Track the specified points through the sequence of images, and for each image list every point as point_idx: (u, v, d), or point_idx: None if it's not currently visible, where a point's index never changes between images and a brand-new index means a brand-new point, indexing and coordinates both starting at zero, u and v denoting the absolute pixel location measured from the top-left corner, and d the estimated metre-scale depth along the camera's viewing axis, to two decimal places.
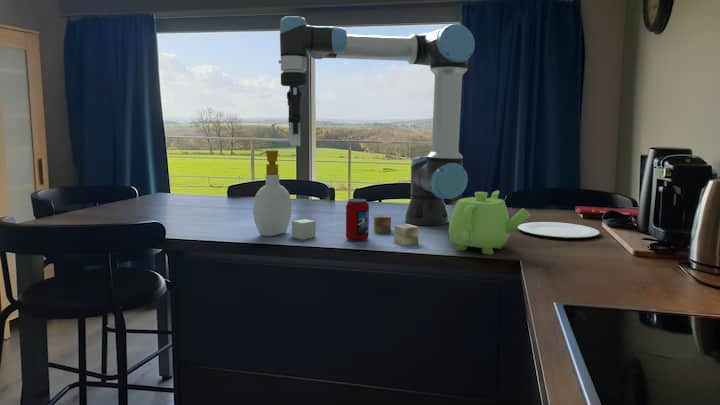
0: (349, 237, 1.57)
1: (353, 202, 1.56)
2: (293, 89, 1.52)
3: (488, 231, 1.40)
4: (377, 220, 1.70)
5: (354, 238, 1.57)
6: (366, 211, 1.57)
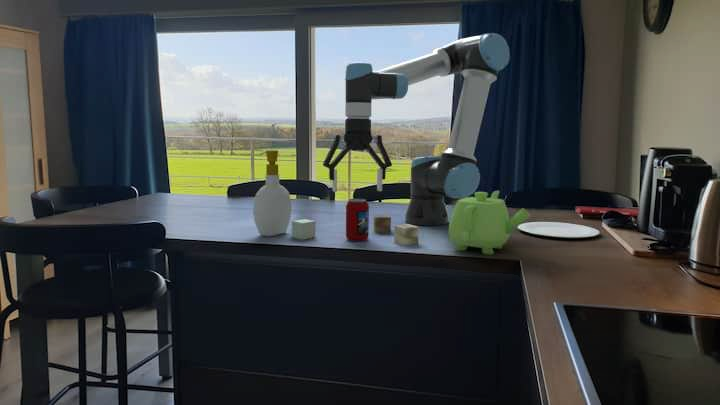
0: (349, 237, 1.57)
1: (353, 202, 1.56)
2: (334, 136, 1.54)
3: (488, 231, 1.40)
4: (377, 220, 1.70)
5: (354, 238, 1.57)
6: (366, 211, 1.57)
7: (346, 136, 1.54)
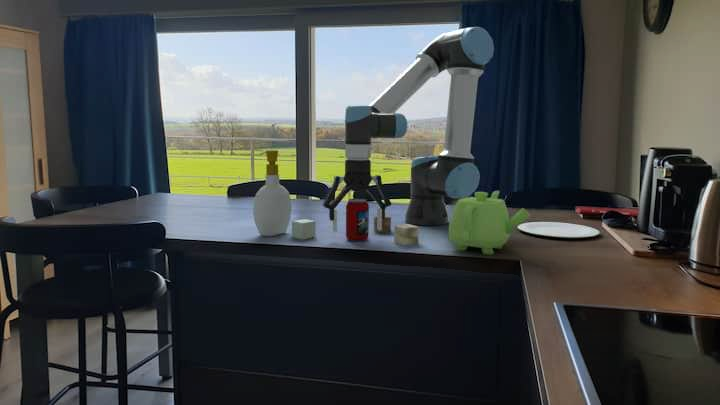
0: (349, 237, 1.57)
1: (353, 202, 1.56)
2: (334, 177, 1.56)
3: (488, 231, 1.40)
4: None
5: (354, 238, 1.57)
6: (366, 211, 1.57)
7: (346, 177, 1.55)
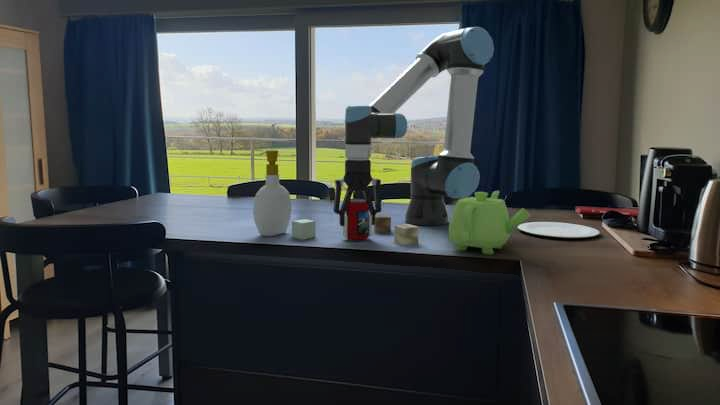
0: (349, 237, 1.57)
1: (353, 202, 1.56)
2: (335, 182, 1.56)
3: (488, 231, 1.40)
4: (377, 220, 1.70)
5: (354, 238, 1.57)
6: (366, 211, 1.57)
7: (345, 178, 1.55)
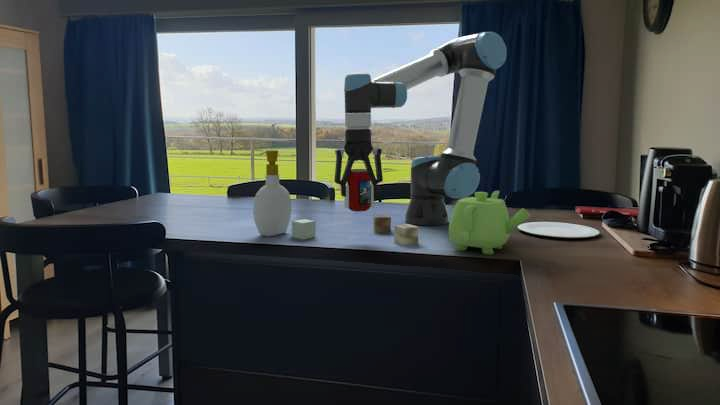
0: (351, 207, 1.56)
1: (354, 172, 1.55)
2: (335, 152, 1.55)
3: (488, 231, 1.40)
4: (377, 220, 1.70)
5: (356, 208, 1.56)
6: (367, 181, 1.56)
7: (346, 148, 1.54)
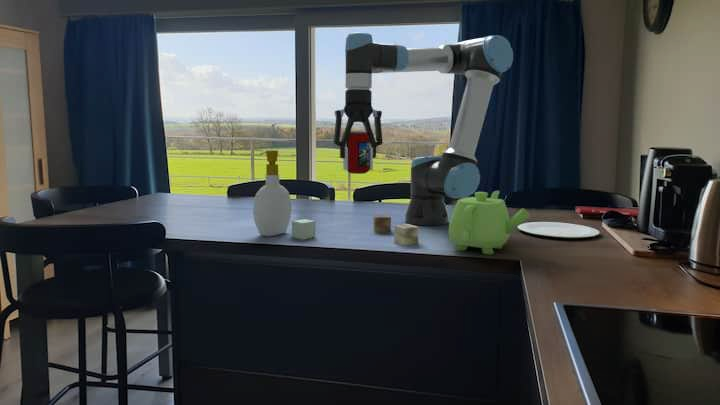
0: (350, 169, 1.55)
1: (354, 133, 1.53)
2: (335, 112, 1.53)
3: (488, 231, 1.40)
4: (377, 220, 1.70)
5: (355, 170, 1.54)
6: (367, 142, 1.54)
7: (346, 108, 1.52)
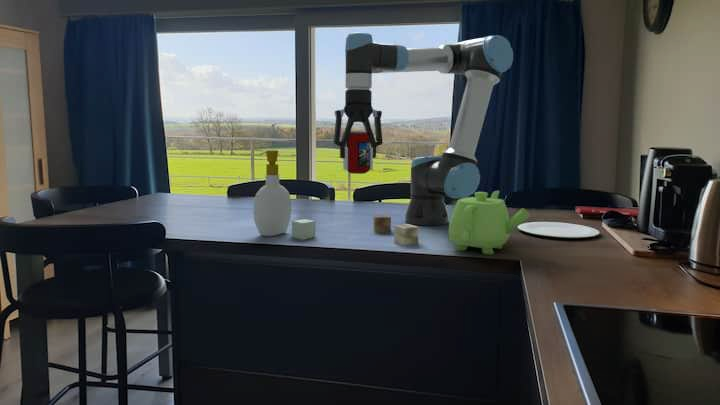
0: (350, 169, 1.55)
1: (354, 133, 1.53)
2: (335, 112, 1.53)
3: (488, 231, 1.40)
4: (377, 220, 1.70)
5: (355, 170, 1.54)
6: (367, 142, 1.54)
7: (346, 108, 1.52)
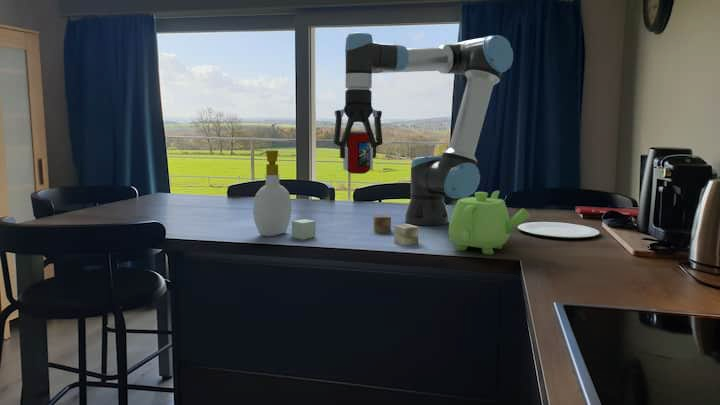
0: (350, 169, 1.55)
1: (354, 133, 1.53)
2: (335, 112, 1.53)
3: (488, 231, 1.40)
4: (377, 220, 1.70)
5: (355, 170, 1.54)
6: (367, 142, 1.54)
7: (346, 108, 1.52)
